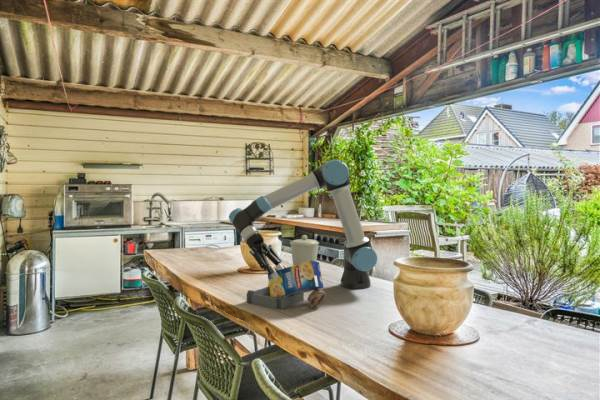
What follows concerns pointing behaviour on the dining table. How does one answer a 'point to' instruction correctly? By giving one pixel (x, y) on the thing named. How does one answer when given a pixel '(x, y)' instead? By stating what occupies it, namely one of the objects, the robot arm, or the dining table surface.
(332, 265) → the dining table surface
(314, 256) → the canister
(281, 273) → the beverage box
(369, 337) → the dining table surface
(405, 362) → the dining table surface
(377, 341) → the dining table surface
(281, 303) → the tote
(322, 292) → the mushroom
